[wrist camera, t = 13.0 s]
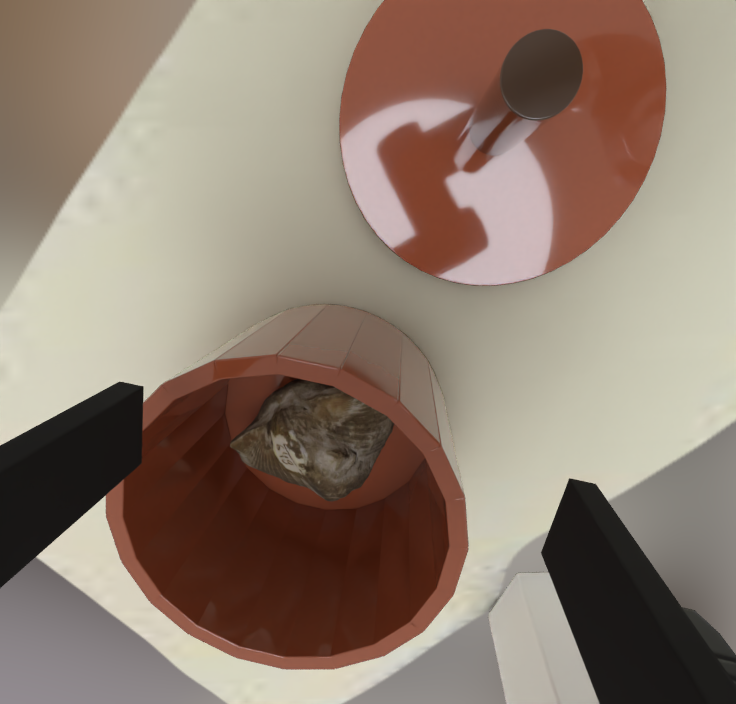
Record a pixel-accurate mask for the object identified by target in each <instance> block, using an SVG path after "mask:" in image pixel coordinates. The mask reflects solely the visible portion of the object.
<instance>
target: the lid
mask: <svg viewBox="0 0 736 704" xmlns="http://www.w3.org/2000/svg"><path fill="white" fill-rule="evenodd" d="M665 103H666V77H665V64H664V58H663V54H662V49H661V44H660V40H659V37H658V34H657V31H656V29H655V26H654V23H653V20H652V18H651V16H650V14H649V12H648V10H647V8H646V6H645V5H644V3H643V1H642V0H384V1H383V3H382V4H381V5H380V6H379V7H378V9H377V10H376V12H375V13H374V15H373V17H372V18H371V20H370V21H369V23H368V25H367V26H366V28H365V29H364V32H363V34H362V36H361V38H360V40H359V42H358V44H357V46H356V48H355V50H354V53H353V56H352V59H351V62H350V65H349V68H348V71H347V74H346V78H345V83H344V88H343V92H342V97H341V107H340V118H339V127H340V147H341V154H342V161H343V166H344V170H345V173H346V177H347V181H348V184H349V187H350V189H351V192H352V194H353V197H354V199H355V202H356V204H357V206H358V207H359V209H360V211H361V213H362V215H363V216H364V218H365V220H366V221H367V223H368V224H369V225H370V227H371V228H372V229H373V231H374V232H375V233H376V235H377V236H378V237H379V238H380V239H381V240H382V241H383V242H384V243H385V244H386V245H387V246H388V247H389V249H391V250H392V251H393V252H394V253H396V254H397V255H398V256H399V257H401V258H402V259H403V260H404V261H406V262H407V263H409V264H411V265H413V266H414V267H416V268H418V269H419V270H421V271H423V272H425V273H428V274H430V275H432V276H435V277H437V278H440V279H444V280H447V281H451V282H455V283H460V284H468V285H475V286H495V285H504V284H512V283H517V282H521V281H525V280H529V279H533V278H535V277H538V276H541V275H543V274H546V273H548V272H551V271H553V270H555V269H557V268H559V267H561V266H563V265H564V264H566V263H568V262H570V261H572V260H573V259H575V258H576V257H577V256H579V255H580V254H582V253H583V252H585V251H586V250H588V249H589V248H590V247H591V246H592V245H593V244H595V243H596V242H597V241H598V240H599V239H600V238H602V237H603V236H604V235H605V234H606V233H607V232H608V231H609V229H610V228H611V227H612V226H613V225H614V224H615V223H616V222H617V221H618V220H619V219H620V217H621V216H622V214H623V213H624V212H625V210H626V209H627V208H628V206H629V205H630V204H631V202H632V201H633V199H634V198H635V196H636V194H637V192H638V191H639V189H640V187H641V185H642V184H643V182H644V180H645V178H646V176H647V173H648V171H649V169H650V166H651V164H652V162H653V159H654V156H655V153H656V150H657V146H658V143H659V140H660V136H661V132H662V126H663V120H664V114H665Z"/></svg>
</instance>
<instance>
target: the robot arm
mask: <svg viewBox="0 0 736 704" xmlns="http://www.w3.org/2000/svg"><path fill="white" fill-rule="evenodd" d="M142 432H143V386H138V385H133V384H129V383H124V382H118V383H116V384H114V385H112V386H111V387H109V388H107V389H105V390H103V391H101V392H99V393H98V394H96V395H94V396H92V397H90V398H88V399H86V400H85V401H83V402H81V403H79V404H77V405H75V406H73V407H71V408H70V409H68V410H66V411H64V412H62V413H60V414H58V415H57V416H55V417H53V418H51V419H49V420H47V421H45V422H43V423H42V424H40V425H38V426H36V427H34V428H32V429H30V430H29V431H27V432H25V433H23V434H21V435H19V436H17V437H15V438H14V439H12V440H10V441H8V442H6V443H4V444H2V445H1V446H0V588H1V587H2V586H3V585H4V584H5V583H6V582H7V581H9V580H10V579H11V578H12V577H13V576H14V575H16V574H17V573H18V572H19V571H20V570H21V569H22V568H24V567H25V566H26V565H27V564H28V563H29V562H30V561H31V560H33V559H34V558H35V557H36V556H37V555H38V554H39V553H41V552H42V551H43V550H44V549H45V548H46V547H47V546H49V545H50V544H51V543H52V542H53V541H54V540H55V539H56V538H58V537H59V536H60V535H61V534H62V533H63V532H64V531H66V530H67V529H68V528H69V527H70V526H71V525H72V524H74V523H75V522H76V521H77V520H78V519H79V518H80V517H81V516H83V515H84V514H85V513H86V512H87V511H88V510H89V509H91V508H92V507H93V506H94V505H95V504H96V503H97V502H99V501H100V500H101V499H102V498H103V497H104V496H105V495H106V494H108V493H109V492H110V491H111V490H112V489H113V488H114V487H116V486H117V485H118V484H119V483H120V482H121V481H122V480H124V479H125V478H126V477H127V476H128V475H129V474H130V473H131V472H133V471H134V470H135V469H136V468H137V467H138V466H139V465H141V464H142ZM541 553H542V556H543V559H544V561H545V564H546V567H547V569H548V572H549V574H550V577H551V580H552V582H553V585H554V587H555V590H556V593H557V595H558V598H559V600H560V603H561V605H562V608H563V611H564V613H565V616H566V618H567V621H568V624H569V626H570V629H571V631H572V634H573V637H574V639H575V642H576V644H577V647H578V649H579V652H580V655H581V657H582V660H583V662H584V665H585V668H586V670H587V673H588V675H589V678H590V681H591V683H592V686H593V688H594V691H595V693H596V696H597V699H598V701H599V704H736V655H735V653H734V652H733V651H732V649H731V648H730V647H729V645H728V644H727V643H726V641H725V640H724V639H723V638H722V636H721V635H720V633H718V632H717V631H716V630H715V629H714V628H713V627H712V626H711V625H710V624H709V623H708V622H707V621H705V620H704V619H703V618H702V617H701V616H700V615H699V614H698V613H697V612H696V611H695V610H692V609H687V608H683V607H681V606H680V604H679V603H678V601H677V600H676V598H675V597H674V596H673V594H672V593H671V591H670V590H669V588H668V587H667V586H666V584H665V583H664V581H663V580H662V579H661V577H660V576H659V574H658V573H657V571H656V570H655V569H654V567H653V565H652V564H651V563H650V561H649V560H648V558H647V557H646V556H645V554H644V553H643V551H642V550H641V549H640V547H639V545H638V544H637V543H636V541H635V540H634V538H633V537H632V536H631V534H630V533H629V531H628V530H627V528H626V527H625V525H624V524H623V523H622V521H621V520H620V518H619V517H618V516H617V514H616V513H615V511H614V510H613V508H612V507H611V505H610V504H609V503H608V501H607V500H606V498H605V497H604V495H603V494H602V492H601V491H600V490H599V488H598V487H597V485H596V484H593V483H589V482H584V481H579V480H575V479H570V478H569V481H568V484H567V486H566V489H565V491H564V494H563V497H562V499H561V502H560V505H559V507H558V510H557V512H556V515H555V518H554V520H553V523H552V526H551V528H550V531H549V533H548V536H547V539H546V541H545V544H544V547H543V549H542V552H541Z"/></svg>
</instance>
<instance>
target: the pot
mask: <svg viewBox="0 0 736 704" xmlns="http://www.w3.org/2000/svg"><path fill="white" fill-rule="evenodd" d="M296 379H302V380H307V381H311V382H316V383H321V384H325V385H330V386H334V387H335V388H337V389H339V390H341V391H343V392H344V393H346V394H348V395H350V396H352V397H353V398H355V399H357V400H359V401H361V402H363V403H364V404H366V405H368V406H370V407H372V408H373V409H375V410H377V411H379V412H381V413H382V414H384V415H386V416H387V417H388V418H389V419H390V420H391V421H392V422H393V423H394V426H393V430H392V433H391V434H390V435H389V437H388V439H387V441H386V443H385V446H384V447H383V448H382V450H381V452H380V454H379V456H378V458H377V459H376V462H375V463H374V465H373V467H372V470H371V473H370V474H369V476H368V478H367V479H366V481H365V482H364V483H363V485H362V486H361V487H360V488H358V489H355V490H353V491H351V492H350V494H348V495H347V496H346V497H344V498H340V499H339V500H336V501H333V502H331V501H327V500H325V499H323V498H321V497H320V496H318V495H317V494H316V493H315V492H314V491H312V490H311V489H309V488H307V487H303V486H299V485H296V484H291V483H287V482H285V481H283V480H282V479H280V478H277V477H275V476H272V475H269V474H267V473H264V472H262V471H259V470H257V469H255V468H252V467H250V466H248V465H247V464H245V463H244V462H243V461H242V460H241V457H240V454H239V453H238V452H237V451H236V450H234V449H232V448H231V447H230V443H231V441H232V440H233V439H234V438H235V437H236V436H237V435H238V434H240V433H241V432H242V431H244V430H245V429H246V428H247V427H248V426H249V425H250V424H251V423H252V422H253V420H254V419H255V418H256V416H257V415H258V413H259V411H260V408H261V406H262V404H263V403H264V401H265V399H266V398H267V397H268V396H269V395H271V394H272V393H273V392H274V391H276V390H278V389H279V388H281V387H284V386H285V385H286V384H288V383H289V382H291V381H293V380H296ZM106 518H107V521H108V524H109V527H110V530H111V533H112V536H113V539H114V542H115V545H116V548H117V551H118V553H119V556H120V559H121V561H122V563H123V565H124V566H125V568H126V569H127V570H128V572H129V573H130V575H131V576H132V578H133V579H134V580H135V582H136V583H137V585H138V586H139V587H140V589H141V590H142V592H143V593H144V594H145V596H146V597H147V599H148V600H149V601H150V603H151V604H153V605H154V606H155V607H156V608H157V609H159V610H160V611H161V612H162V613H163V614H165V615H166V616H167V617H168V618H169V619H171V620H172V621H173V622H174V623H175V624H177V625H178V626H179V627H180V628H181V629H182V630H184V631H185V632H186V633H187V634H190V635H191V636H193V637H195V638H197V639H199V640H201V641H203V642H205V643H207V644H209V645H211V646H213V647H215V648H217V649H219V650H221V651H223V652H225V653H227V654H229V655H231V656H233V657H236V658H239V659H243V660H247V661H251V662H256V663H260V664H264V665H268V666H272V667H277V668H281V669H335V668H336V669H337V668H341V667H345V666H349V665H352V664H356V663H360V662H364V661H367V660H371V659H375V658H379V657H382V656H385V655H387V654H388V653H390V652H391V651H393V650H395V649H396V648H398V647H400V646H401V645H403V644H404V643H406V642H408V641H409V640H411V639H413V638H414V637H416V636H417V635H419V634H421V633H422V632H423V631H425V629H426V628H427V627H428V626H429V625H430V623H431V622H432V621H433V620H434V618H435V617H436V616H437V615H438V614H439V612H440V611H441V610H442V609H443V607H444V606H445V605H446V604H447V603H448V601H449V600H450V599H451V598H452V596H453V595H454V592H455V589H456V586H457V583H458V580H459V577H460V574H461V571H462V568H463V565H464V562H465V559H466V555H467V552H468V546H469V545H468V530H467V516H466V501H465V494H464V490H463V485H462V480H461V476H460V471H459V467H458V462H457V457H456V453H455V448H454V443H453V439H452V434H451V429H450V425H449V420H448V415H447V411H446V406H445V401H444V397H443V393H442V390H441V388H440V386H439V384H438V381H437V379H436V376H435V374H434V371H433V370H432V368H431V366H430V363H429V361H428V360H427V359H426V358H425V356H424V355H423V354H422V352H421V351H420V350H419V348H418V347H417V346H416V345H415V344H414V343H413V342H412V341H411V340H410V339H409V338H408V337H407V336H406V335H405V334H404V333H402V332H401V331H400V330H399V329H397V328H396V327H395V326H393V325H392V324H390V323H388V322H387V321H385V320H383V319H381V318H380V317H377V316H375V315H373V314H370V313H368V312H366V311H363V310H359V309H355V308H352V307H348V306H341V305H334V304H314V305H306V306H300V307H296V308H290V309H287V310H285V311H283V312H280V313H278V314H275V315H273V316H271V317H270V318H267V319H265V320H263V321H261V322H259V323H257V324H255V325H254V326H252V327H251V328H249V329H247V330H246V331H244V332H243V333H241V334H240V335H238V336H236V337H235V338H233V339H232V340H230V341H229V342H227V343H225V344H224V345H222V346H221V347H219V348H218V349H216V350H214V351H213V352H211V353H210V354H208V355H207V356H205V357H203V358H202V359H200V360H199V361H197V362H196V363H194V364H192V365H191V366H189V367H188V368H186V369H185V370H183V371H182V372H180V373H178V374H177V375H175V376H174V377H172V378H171V379H169V380H167V381H166V382H164V383H163V384H161V385H160V386H159V387H158V388H157V389H156V390H155V391H154V392H153V393H152V394H151V395H150V396H149V397H148V398H147V399H146V400H145V402H144V403H143V432H142V464H141V465H139V466H138V467H137V468H136V469H135V470H134V471H133V472H131V473H130V474H129V475H128V476H127V477H126V478H125V479H124V480H122V481H121V482H120V483H119V484H118V485H117V486H116V487H114V488H113V489H112V490H111V491H110V492H109V493H108V494H106Z"/></svg>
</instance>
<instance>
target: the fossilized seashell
mask: <svg viewBox="0 0 736 704" xmlns="http://www.w3.org/2000/svg"><path fill="white" fill-rule="evenodd" d="M393 426H394V423H393V422H392V421H391V420H390V419H389V418H388V417H387V416H386V415H384V414H382V413H381V412H379V411H377V410H375V409H373V408H372V407H370V406H368V405H366V404H364V403H363V402H361V401H359V400H357V399H355V398H353V397H352V396H350V395H348V394H346V393H344V392H343V391H341V390H339V389H337V388H335V387H334V386H330V385H325V384H321V383H316V382H311V381H307V380H302V379H296V380H293V381H291V382H289V383H288V384H286V385H285V386H284V387H281V388H279V389H278V390H276V391H274V392H273V393H272V394H271V395H269V396H268V397H267V398H266V399H265V401H264V403H263V404H262V406H261V408H260V411H259V413H258V415H257V416H256V418H255V419H254V420H253V422H252V423H251V424H250V425H249V426H248V427H247V428H246V429H245V430H244V431H242V432H241V433H240V434H238V435H237V436H236V437H235V438H234V439H233V440H232V441H231V443H230V447H231V448H232V449H234V450H236V451H237V452H238V453H239V454H240V457H241V460H242V461H243V462H244V463H245V464H247V465H248V466H250V467H252V468H255V469H257V470H259V471H262V472H264V473H267V474H269V475H272V476H275V477H277V478H280V479H282V480H283V481H285V482H287V483H291V484H296V485H299V486H303V487H307V488H309V489H311V490H312V491H314V492H315V493H316V494H317V495H318V496H320V497H321V498H323V499H325V500H327V501H331V502H333V501H336V500H339V499H340V498H344V497H346V496H347V495H348V494H350V492H351V491H353V490H355V489H358V488H360V487H361V486H362V485H363V483H364V482H365V481H366V479H367V478H368V476H369V474H370V473H371V470H372V467H373V465H374V463H375V462H376V459H377V458H378V456H379V454H380V452H381V450H382V448H383V447H384V446H385V443H386V441H387V439H388V437H389V435H390V434H391V433H392V430H393Z"/></svg>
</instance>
